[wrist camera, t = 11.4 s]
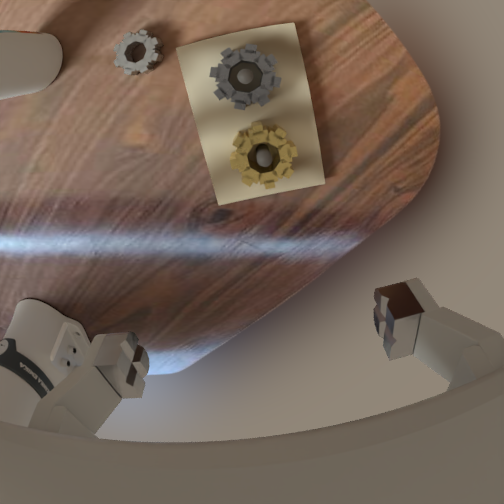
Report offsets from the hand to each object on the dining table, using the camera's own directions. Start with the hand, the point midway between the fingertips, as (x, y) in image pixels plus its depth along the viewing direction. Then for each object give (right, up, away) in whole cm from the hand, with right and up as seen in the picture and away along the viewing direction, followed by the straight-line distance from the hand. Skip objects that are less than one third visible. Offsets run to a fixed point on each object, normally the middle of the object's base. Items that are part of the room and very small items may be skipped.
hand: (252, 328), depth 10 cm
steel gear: (-1, +20, +18) cm, 27 cm away
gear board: (0, +17, +21) cm, 27 cm away
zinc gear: (-12, +24, +17) cm, 31 cm away
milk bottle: (-25, +25, +16) cm, 39 cm away
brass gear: (+1, +13, +22) cm, 25 cm away
